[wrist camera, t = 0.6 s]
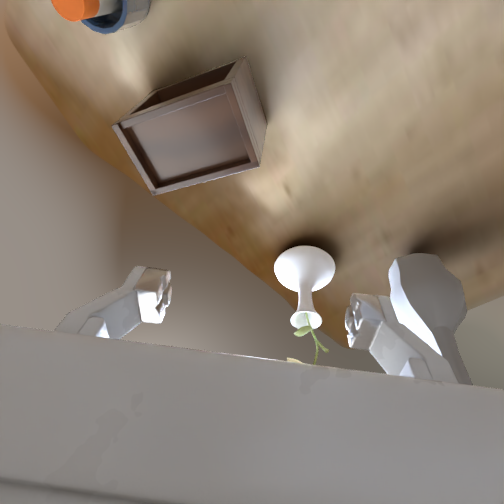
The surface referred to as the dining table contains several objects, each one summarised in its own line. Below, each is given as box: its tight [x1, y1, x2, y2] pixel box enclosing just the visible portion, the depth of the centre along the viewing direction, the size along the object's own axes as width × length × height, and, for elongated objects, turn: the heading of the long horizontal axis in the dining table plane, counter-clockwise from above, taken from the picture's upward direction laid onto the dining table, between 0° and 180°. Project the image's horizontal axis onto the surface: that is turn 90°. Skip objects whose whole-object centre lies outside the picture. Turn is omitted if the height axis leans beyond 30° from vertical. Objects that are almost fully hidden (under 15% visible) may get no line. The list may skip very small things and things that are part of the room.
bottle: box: [389, 253, 473, 385], centre depth 48 cm, size 11×11×30 cm
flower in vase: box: [274, 246, 335, 365], centre depth 54 cm, size 13×11×25 cm
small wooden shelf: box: [112, 56, 267, 196], centre depth 41 cm, size 9×14×13 cm, turn 109°
